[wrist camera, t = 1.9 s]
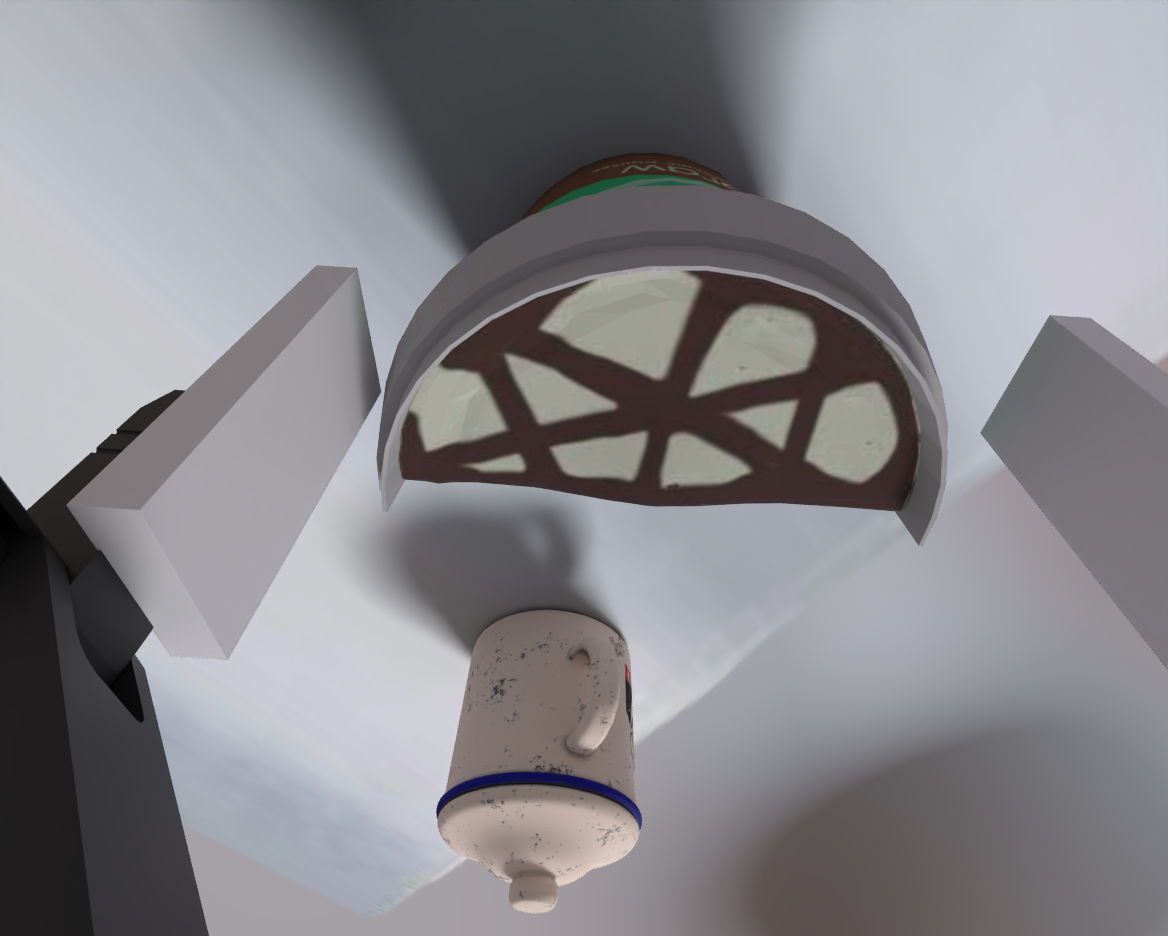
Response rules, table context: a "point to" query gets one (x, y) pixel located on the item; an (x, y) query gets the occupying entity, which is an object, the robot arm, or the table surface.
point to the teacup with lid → (543, 755)
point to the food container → (669, 356)
